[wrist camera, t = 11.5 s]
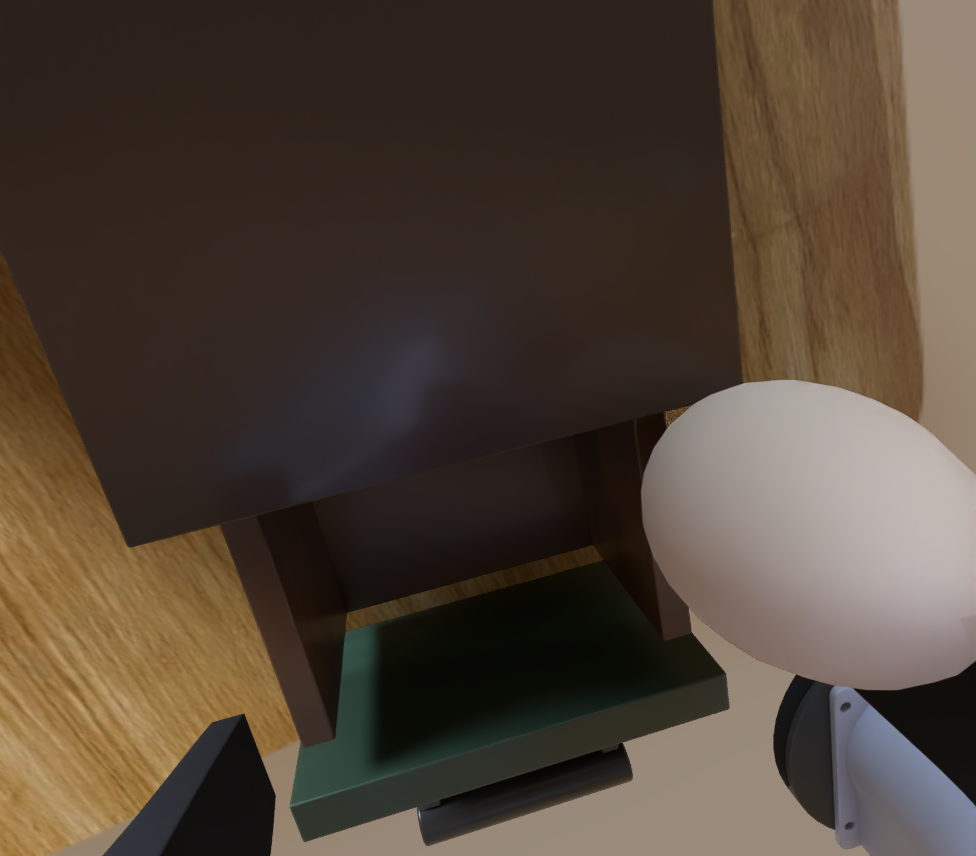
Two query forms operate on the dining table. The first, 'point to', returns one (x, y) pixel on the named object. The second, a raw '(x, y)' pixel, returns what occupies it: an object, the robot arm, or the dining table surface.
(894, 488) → the egg
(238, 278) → the cabinet
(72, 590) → the dining table surface
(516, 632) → the drawer
